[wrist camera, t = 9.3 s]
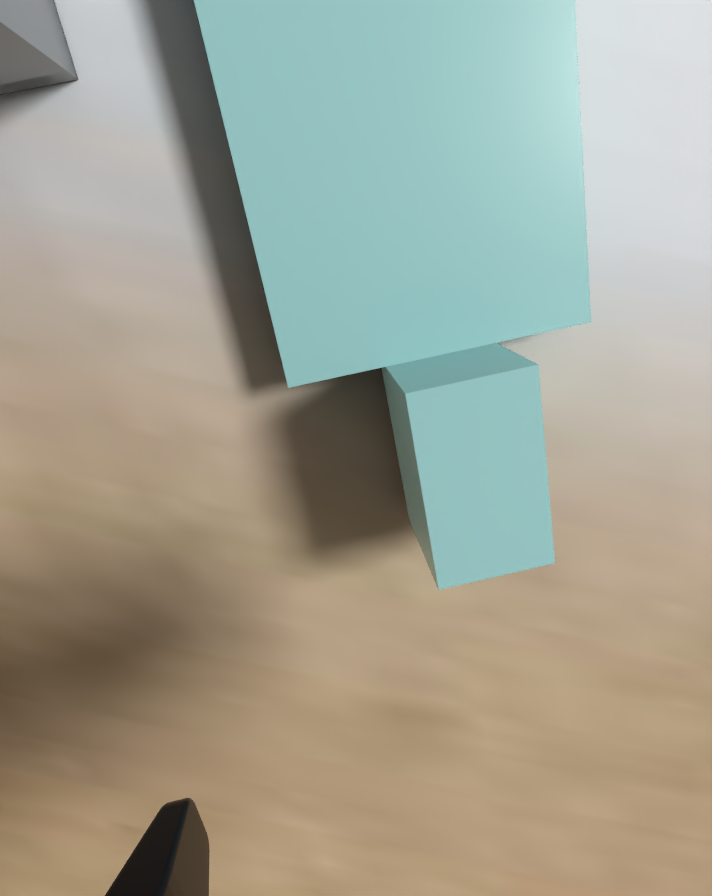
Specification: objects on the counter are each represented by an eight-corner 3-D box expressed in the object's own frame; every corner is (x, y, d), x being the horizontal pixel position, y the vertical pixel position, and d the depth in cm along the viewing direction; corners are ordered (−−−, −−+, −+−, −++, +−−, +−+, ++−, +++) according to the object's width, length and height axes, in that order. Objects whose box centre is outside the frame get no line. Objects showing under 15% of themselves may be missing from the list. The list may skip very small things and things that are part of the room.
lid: (325, 528, 22) (336, 613, 17) (152, -189, 15) (81, -407, 10) (573, 472, 22) (655, 540, 17) (524, -258, 15) (640, -502, 10)
